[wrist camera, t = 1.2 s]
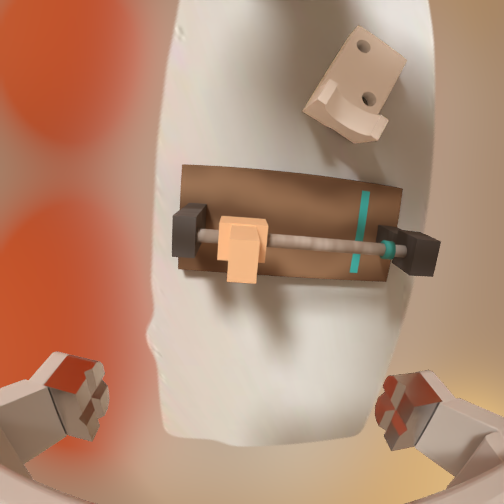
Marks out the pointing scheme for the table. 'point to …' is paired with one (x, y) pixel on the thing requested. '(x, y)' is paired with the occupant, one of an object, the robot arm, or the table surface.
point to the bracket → (357, 88)
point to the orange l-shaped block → (242, 246)
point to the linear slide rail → (299, 224)
